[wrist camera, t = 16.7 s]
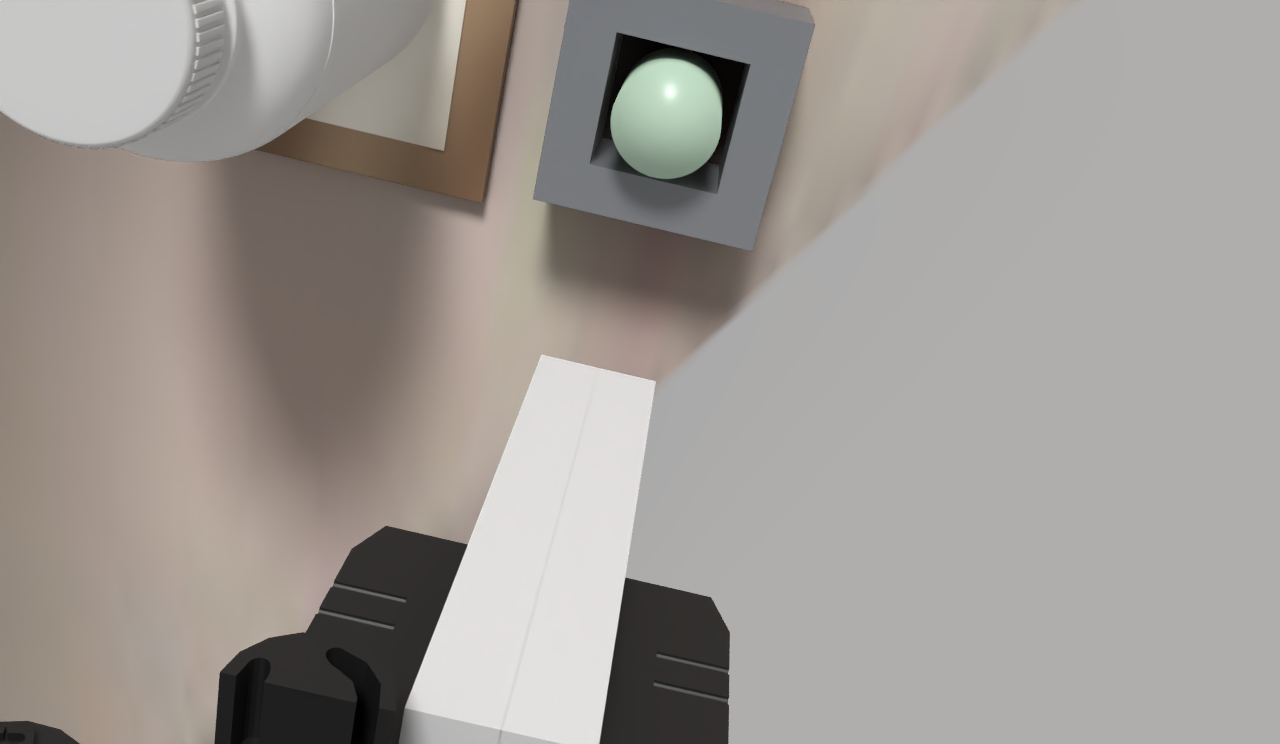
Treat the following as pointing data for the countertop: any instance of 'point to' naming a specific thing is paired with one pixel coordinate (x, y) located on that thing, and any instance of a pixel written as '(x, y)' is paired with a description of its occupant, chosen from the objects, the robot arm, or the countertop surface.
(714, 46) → the button housing
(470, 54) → the clipboard
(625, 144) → the button
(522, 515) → the robot arm
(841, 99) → the countertop surface
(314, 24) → the pill bottle
